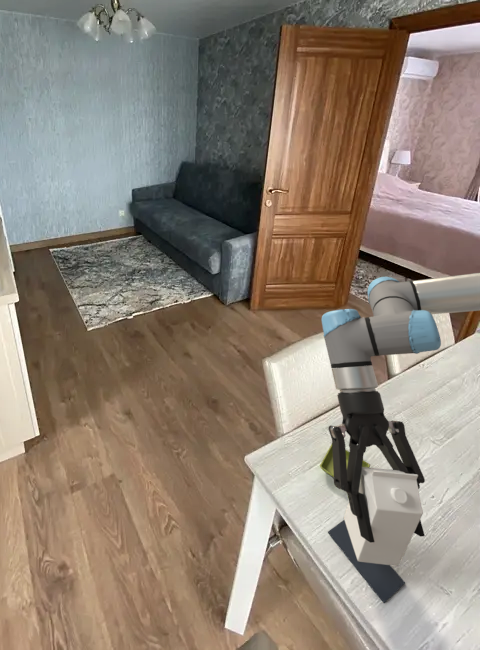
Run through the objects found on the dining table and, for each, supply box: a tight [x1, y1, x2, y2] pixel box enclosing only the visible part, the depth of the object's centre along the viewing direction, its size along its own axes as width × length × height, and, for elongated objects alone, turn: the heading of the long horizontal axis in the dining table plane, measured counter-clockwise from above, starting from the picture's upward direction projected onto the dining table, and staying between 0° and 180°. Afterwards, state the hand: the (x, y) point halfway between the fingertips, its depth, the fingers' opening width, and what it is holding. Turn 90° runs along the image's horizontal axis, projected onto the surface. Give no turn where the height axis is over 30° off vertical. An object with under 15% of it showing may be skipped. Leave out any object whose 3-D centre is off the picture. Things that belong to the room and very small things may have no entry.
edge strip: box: [327, 519, 406, 604], centre depth 66 cm, size 12×6×1 cm, turn 27°
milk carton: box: [343, 467, 424, 567], centre depth 61 cm, size 7×7×19 cm
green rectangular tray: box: [319, 443, 371, 478], centre depth 81 cm, size 9×9×2 cm
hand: (392, 535), depth 58 cm, fingers closed on milk carton, 8 cm apart
